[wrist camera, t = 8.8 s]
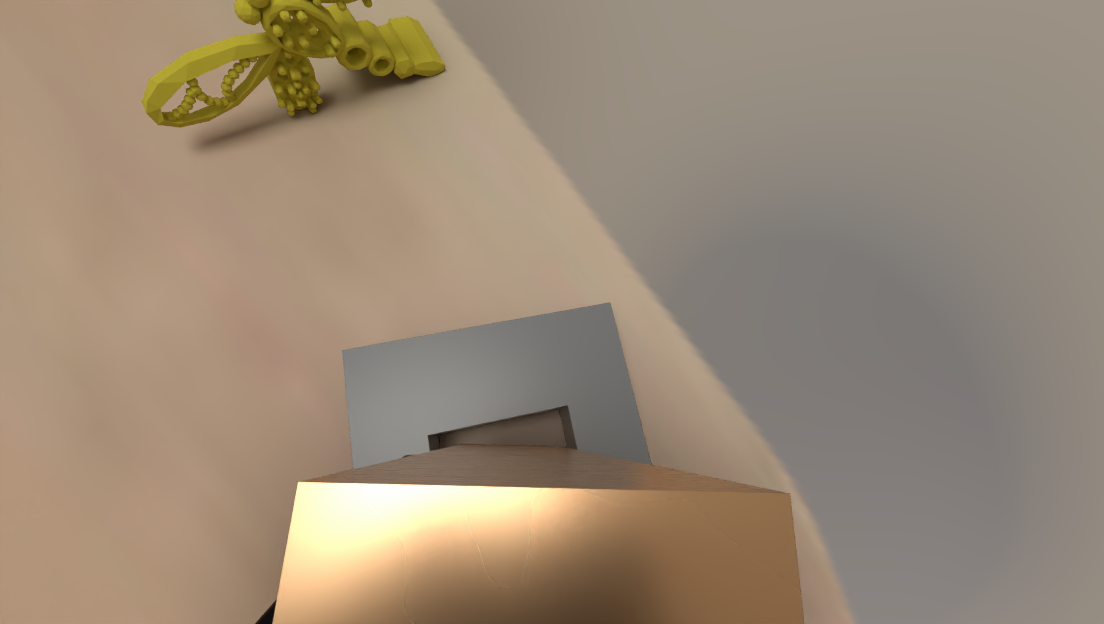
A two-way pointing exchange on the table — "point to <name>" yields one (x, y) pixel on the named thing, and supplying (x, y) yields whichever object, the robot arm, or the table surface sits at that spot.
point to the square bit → (536, 543)
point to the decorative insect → (290, 57)
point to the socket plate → (495, 385)
